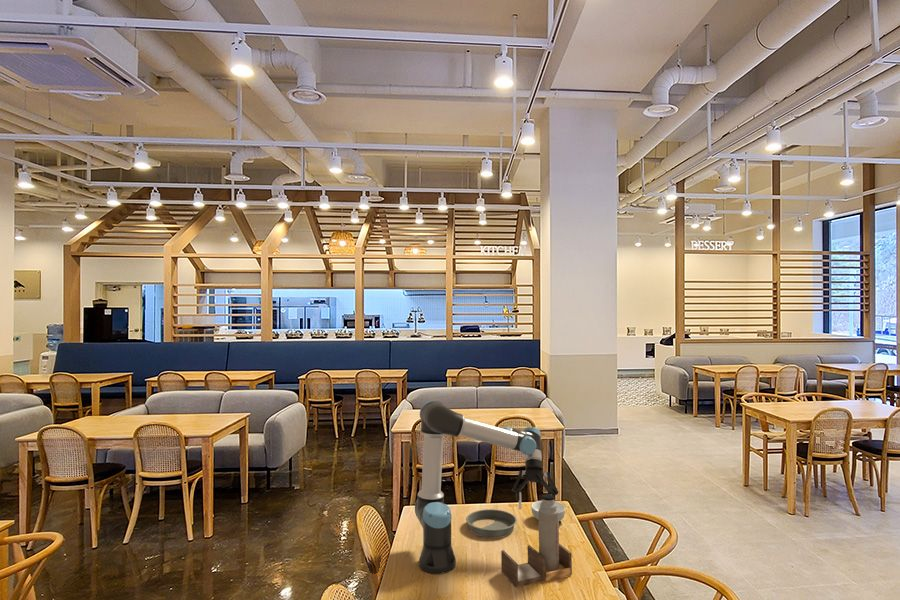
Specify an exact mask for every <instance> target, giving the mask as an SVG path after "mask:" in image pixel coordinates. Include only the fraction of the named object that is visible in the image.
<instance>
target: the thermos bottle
mask: <svg viewBox="0 0 900 600" xmlns="http://www.w3.org/2000/svg"><path fill="white" fill-rule="evenodd" d="M541 498H542V499H541V500H542V503H540V508H539V520H538V553H540V554H541V555H542V556H543V557H544V558H545V570H546V571H555V570H558V569H559V544H560V537H559V536H560V532H559V531H560V530H559V529H560V523H559V522H560V521H559V511H558V509H557V505H556V504H555V501H556V500H555V501H554V496H553V495H550V494H549V493H548V494H547V493H546V494H542V496H541Z"/></svg>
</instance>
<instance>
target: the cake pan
mask: <svg viewBox="0 0 900 600" xmlns="http://www.w3.org/2000/svg"><path fill="white" fill-rule="evenodd" d="M465 520H466V523H467V524H468V527H469V531H471V532H472V533H473V534H475V535H476V536H479V537H483V538H492V539H493V538H502V537H506V536H508V535H511V534H512V533H513V532H514V528H515V525H516V524H517V522H518V519H517V517H516V516H515V515H514V514H512V513H511V512H508V511H506V510H501V509H495V508H494V509H492V508H491V509H487V508H486V509H479V510H476V511H473V512H471V513H469V514H468V515H467V516H466V519H465ZM481 520H494V522H492V523H490V524H489V525H486V526H483V527H478V526H476V525H473V524H474V523H475V522H477V521H481Z"/></svg>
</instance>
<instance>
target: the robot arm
mask: <svg viewBox="0 0 900 600" xmlns="http://www.w3.org/2000/svg"><path fill="white" fill-rule="evenodd" d="M419 417H420V421H421V424H420V432H421V434H422V435H423V453H422V469H421V471H422V472H421V486H420V488H421V489H420V490H419V491H418V492H417V499H416V500H415V504H414V513H415V516H416V518H417V520H418V521H419V523H420V525H421V527H422V532H423V533H422V537H423V538H422V539H423V542H422V543H423V545H422V548H421V552H420V554H419V555H420V556H419V558H418V559H419V560H418V564H419V565H418V566H419V568H420V570H422V571H424V572H425V573H428V574H433V575H434V574H435V575H439V574H445V573H448V572H451V571H452V570H453V569H455V567H456V563H457V562H456V560H457V559H456V556H455V553H454V549H453V545H452V518H453V517H452V511H451V507H450V506H449V505H448V504H446V503H444V497H445V494H444V492H443V491H442V490H441V488H442V471H443V469H442V468H443V452H444V450H443V449H444V437H445V435H447V436H451V437H456V438H458V437H460V436H461V437H465V438H469V439H471V440H472V439H473V440H476V441H480V442H484V443H487V444H491V445H494V446H495V445H496V446H499V447H502V448H505V449H506V448H507V449H510V450H513V451H517V452H521V454H523V455H524V460H525V462H524V463H525V471H524V470H522V469H520V470H518V471H519V472H518V476H517V478H516V480H515V482H514V484H513V487H512V489H511V492H513V493H515V501H517V502H518V510H520V511H521V510H522V508H523V507H522V505H523V504H522V492H521V491H522V489H523V488H524V487H525V486H526V485H527V484H528V482H530V483H539V484H540V485H541V486H543V488H544V489H545V490H546V492H547V493H548V494H549V495H553V496H554V501H556V499H555V496H557V495H559V490H558V488H557V487H556V485H555V482H554V480H553V479H552V477H551V473H550V471H548V472H543V461H542V460H543V459H542V455H543V454H542V438H541V430H540V428H538V427H535V426H532V427H531V426H529V427H526V428H524V430H523V429H518V428H513V427H508V426H504V427H499V426H496V425H492V424H489V423H485V422H482V421H478V420H475V419H471V418H468V417H465V416H464V414H463V413H459V412H456V411H454V410H452V409H450V408H449V407H447V405H444V403H442V402H441V401H439V400H438V401H437V400H428V401H427V402H425V403H424V404H422V406H421V407H420V409H419ZM524 476H525V477H526V478H525V480H524V481H523V482H522V483H521V484H520V485H519V486H518V484H519V483H520V480H521V478H522V477H524ZM543 477H545V479H546V480H545V479H544V478H543ZM546 481H547V482H546ZM517 486H518V487H517Z"/></svg>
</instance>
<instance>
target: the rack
mask: <svg viewBox="0 0 900 600" xmlns="http://www.w3.org/2000/svg"><path fill="white" fill-rule="evenodd" d="M572 555H573V554H572V552H571V551H569V549H567V548H566V547H564V546H563V545H561V543H559V569H558V570H555V571H546V570H545V558H544V557H543V556H542V555H541V554H540V553H539V551H537V550H536V549H535V548H534V547H533V546H531V545H530V544H529V545H527V562H525V563H519V564H518V563H517V561H515V560H514V559H513V558H512V557H511V556H510V555H509V554H508V553H507V552H506V551H505V550H504V549H503V550H501V551H500V556H501V558H500V559H501V563H500V565H501V574H503V575H504V576H505V578H507V580H508V581H509V582H510V583H511V584H512V585H513V586H514V588H521V587H524V586H529V585H532V584H533V585H534V584H537V583H542V582H550V581H554V580H559V579H564V578H567V577H571V576H572V575H573V572H572V571H573V570H572V569H573V564H572V559H573V558H572Z"/></svg>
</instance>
